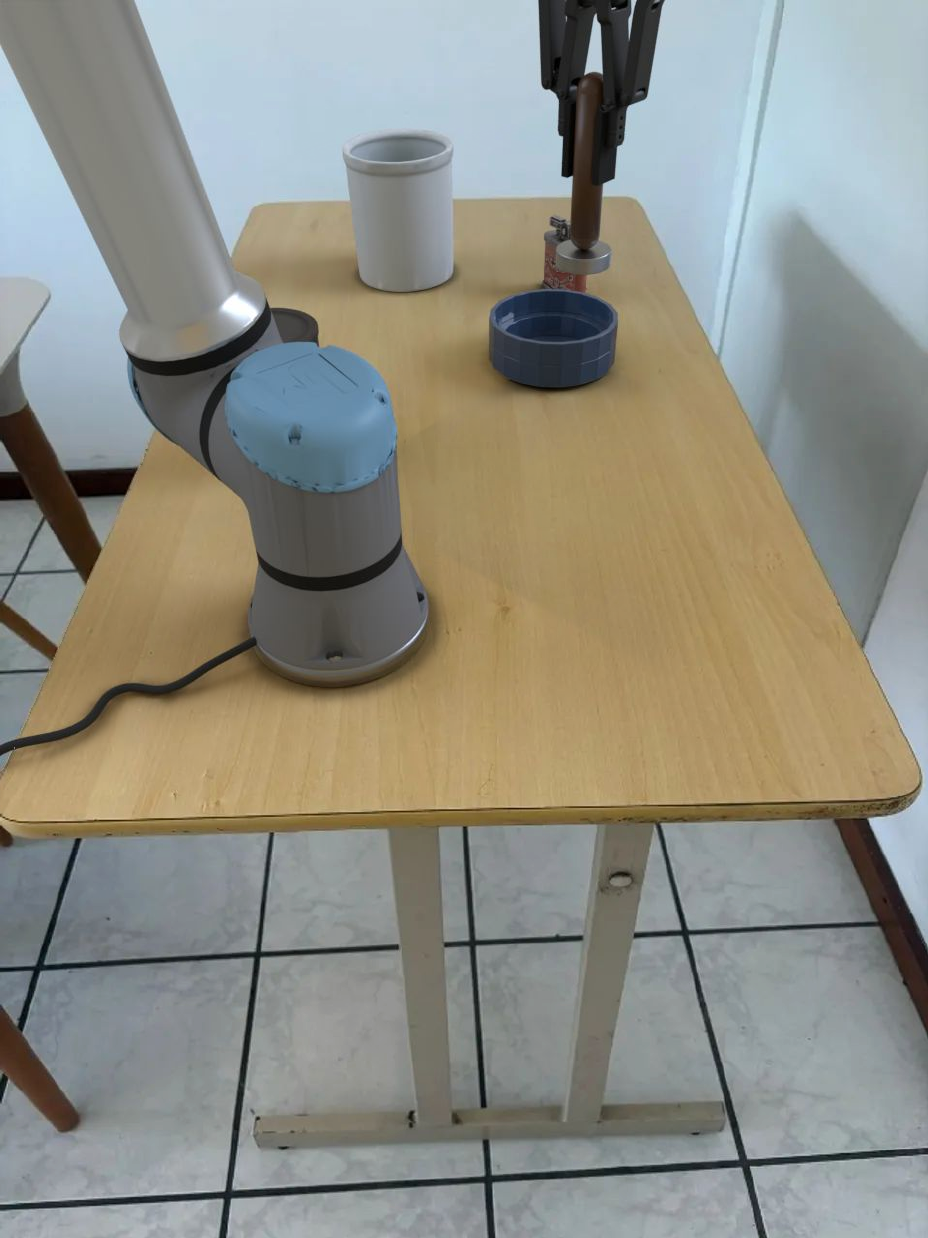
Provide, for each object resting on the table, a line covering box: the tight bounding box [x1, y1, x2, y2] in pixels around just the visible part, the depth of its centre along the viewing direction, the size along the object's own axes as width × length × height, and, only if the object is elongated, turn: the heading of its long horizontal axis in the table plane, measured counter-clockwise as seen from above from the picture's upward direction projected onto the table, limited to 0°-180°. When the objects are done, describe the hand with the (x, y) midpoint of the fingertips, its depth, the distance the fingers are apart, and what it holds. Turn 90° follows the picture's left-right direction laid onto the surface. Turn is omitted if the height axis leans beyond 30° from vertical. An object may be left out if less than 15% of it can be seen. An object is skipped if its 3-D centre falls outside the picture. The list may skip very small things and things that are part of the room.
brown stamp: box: [556, 71, 612, 276], centre depth 93 cm, size 6×6×18 cm
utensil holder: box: [342, 128, 454, 293], centre depth 133 cm, size 15×15×18 cm
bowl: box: [488, 288, 619, 388], centre depth 116 cm, size 15×15×6 cm
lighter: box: [541, 214, 588, 293], centre depth 129 cm, size 8×3×10 cm, turn 34°
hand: (587, 176), depth 93 cm, fingers closed on brown stamp, 3 cm apart
